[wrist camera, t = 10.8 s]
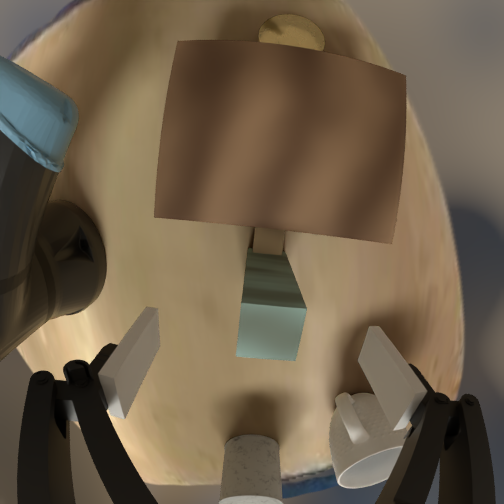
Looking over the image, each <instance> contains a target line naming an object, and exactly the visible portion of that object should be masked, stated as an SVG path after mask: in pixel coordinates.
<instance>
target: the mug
mask: <svg viewBox="0 0 504 504" xmlns="http://www.w3.org/2000/svg"><path fill="white" fill-rule="evenodd" d="M335 403H336V406H337V407H336V409H335V411H334V413H333V416H332V418H331V423H330V431H329V442H330V452H331V458H332V462H333V467H334V471H335V474H336V478H337V482H338V484H339V485H340V486H343V487H346V488H361V487H366V486H370V485H373V484H377V483H379V482H382V481H384V480H386V479H388V478H389V476H390V474H391V472H392V470H393V468H394V466H395V463H396V461H397V459H398V457H399V454H400V452H401V450H402V447H403V445H404V442H405V440H406V438H405V439H403V438H404V437H405V435H406V434H407V432H408V431H407V430H406V428H404V429H399V430H394V431H393V430H392V428H391V426H390V423H389V421H388V419H387V417H386V415H385V413H384V411H383V409H382V407H381V405H380V403H379V401H378V399H377V397H376V396H375V395H373V394H370V393H357V394H354V395H351V396H350V395H349V394H348V393H346V392H345V393H341V394H339V395H338V396H337V397H336V398H335Z"/></svg>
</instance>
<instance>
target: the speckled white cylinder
mask: <svg viewBox="0 0 504 504" xmlns="http://www.w3.org/2000/svg"><path fill="white" fill-rule="evenodd" d="M279 450H280V449H279V445H278V443H277V442H276V441H275V440H273V439H271V438H269V437H266V436H261V435H241V436H237V437H234V438H232V439H230V440H229V441H228V442H227V443H226V444H225V454H224V463H223V473H222V482H221V491H220V501H219V504H283V502H282V487H281V472H280V457H279Z"/></svg>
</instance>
